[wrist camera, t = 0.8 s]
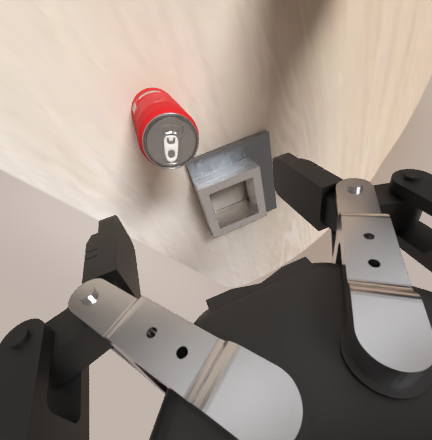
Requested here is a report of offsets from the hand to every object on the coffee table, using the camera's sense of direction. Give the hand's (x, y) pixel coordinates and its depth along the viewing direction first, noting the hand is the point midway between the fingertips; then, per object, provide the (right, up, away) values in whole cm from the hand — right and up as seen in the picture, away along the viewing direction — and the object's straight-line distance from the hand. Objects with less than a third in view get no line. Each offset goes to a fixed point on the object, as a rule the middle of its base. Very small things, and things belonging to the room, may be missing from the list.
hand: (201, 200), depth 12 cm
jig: (+4, +5, +28) cm, 28 cm away
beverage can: (-7, +12, +18) cm, 23 cm away
